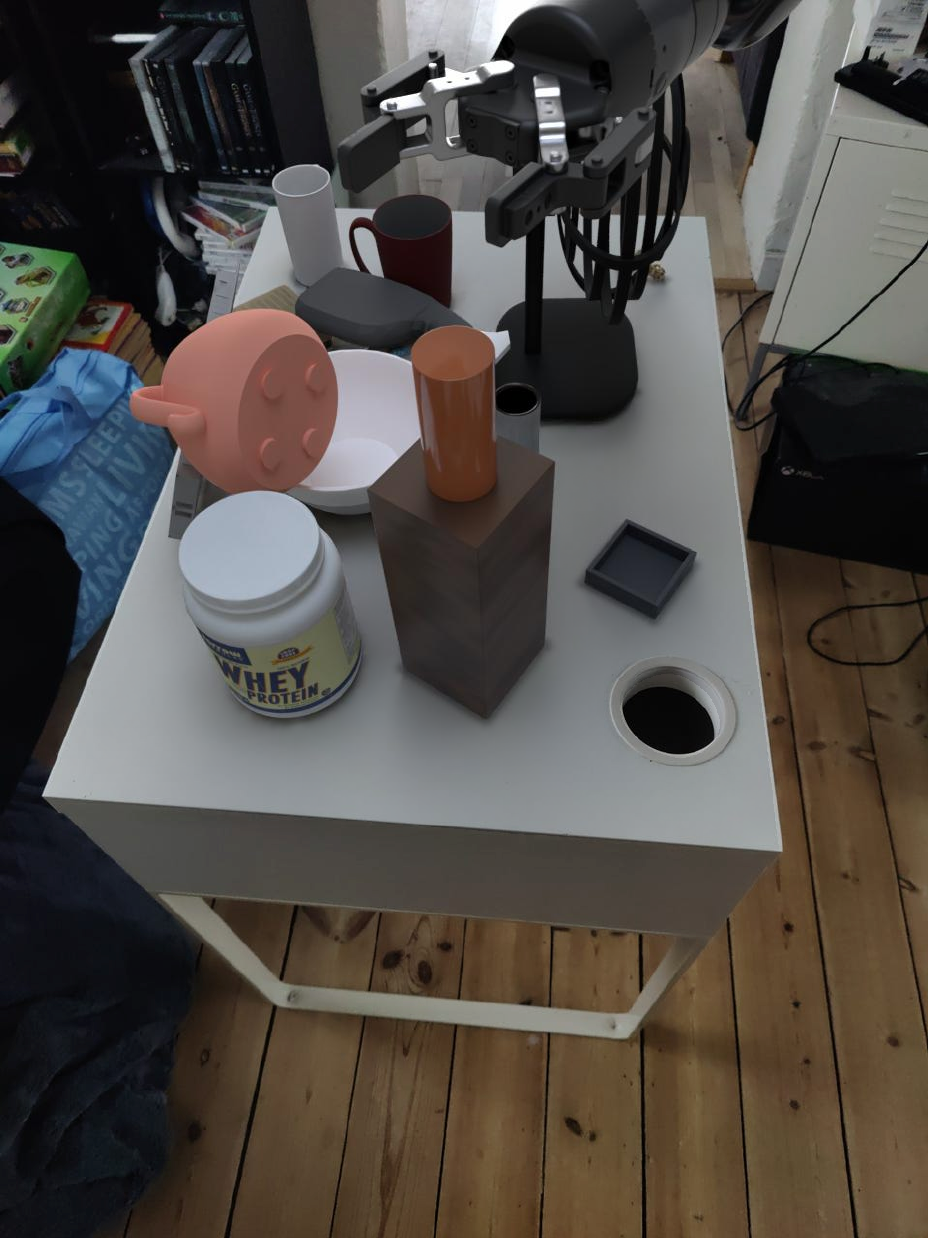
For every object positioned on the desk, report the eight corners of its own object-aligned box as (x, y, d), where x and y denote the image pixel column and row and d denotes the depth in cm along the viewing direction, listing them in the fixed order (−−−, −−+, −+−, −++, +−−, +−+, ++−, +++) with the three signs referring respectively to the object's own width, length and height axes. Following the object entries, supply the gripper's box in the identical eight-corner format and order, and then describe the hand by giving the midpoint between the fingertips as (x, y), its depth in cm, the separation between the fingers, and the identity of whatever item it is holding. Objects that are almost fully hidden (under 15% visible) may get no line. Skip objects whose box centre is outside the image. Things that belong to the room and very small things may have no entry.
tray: (693, 565, 80) (697, 551, 79) (654, 619, 77) (657, 606, 76) (624, 531, 83) (626, 518, 81) (584, 582, 80) (585, 569, 78)
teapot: (371, 478, 83) (271, 448, 88) (385, 310, 77) (276, 288, 81) (207, 534, 65) (93, 493, 70) (205, 321, 59) (80, 291, 64)
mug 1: (338, 291, 107) (320, 197, 97) (287, 287, 108) (264, 194, 98) (358, 244, 112) (343, 151, 102) (309, 240, 113) (290, 148, 103)
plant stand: (544, 644, 76) (555, 460, 57) (486, 719, 72) (477, 548, 53) (463, 598, 79) (447, 410, 60) (403, 668, 76) (366, 489, 57)
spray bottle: (344, 283, 102) (526, 341, 94) (287, 327, 96) (476, 393, 88) (341, 259, 100) (528, 316, 92) (283, 303, 94) (476, 368, 86)
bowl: (421, 393, 95) (414, 331, 88) (473, 520, 84) (469, 460, 78) (248, 435, 93) (227, 374, 86) (279, 570, 82) (258, 513, 75)
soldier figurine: (644, 257, 101) (672, 275, 103) (643, 251, 102) (670, 268, 104) (632, 270, 103) (660, 288, 105) (631, 264, 104) (658, 281, 106)
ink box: (292, 308, 105) (232, 338, 103) (284, 280, 102) (222, 310, 99) (336, 348, 100) (274, 380, 98) (330, 320, 97) (266, 353, 95)
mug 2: (352, 322, 103) (336, 236, 94) (367, 277, 108) (354, 191, 98) (451, 327, 101) (444, 241, 92) (462, 282, 106) (457, 195, 97)
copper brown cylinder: (511, 467, 57) (511, 343, 49) (469, 513, 55) (462, 391, 47) (453, 439, 59) (443, 315, 50) (410, 482, 57) (393, 360, 48)
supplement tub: (215, 723, 73) (145, 611, 59) (241, 606, 80) (184, 480, 66) (357, 725, 72) (320, 611, 58) (371, 606, 79) (341, 479, 65)
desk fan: (662, 450, 89) (734, 86, 60) (492, 450, 90) (482, 94, 61) (642, 289, 104) (693, -64, 75) (497, 291, 105) (491, -56, 76)
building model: (220, 383, 98) (202, 379, 97) (241, 252, 84) (221, 246, 83) (187, 559, 84) (165, 555, 83) (206, 437, 70) (180, 431, 70)
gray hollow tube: (487, 466, 89) (484, 389, 80) (528, 455, 89) (530, 377, 81) (502, 497, 86) (501, 420, 78) (544, 485, 87) (548, 408, 78)
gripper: (487, -52, 46) (283, 74, 39) (733, 3, 41) (549, 159, 34) (490, 97, 52) (314, 228, 45) (704, 161, 47) (543, 320, 40)
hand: (415, 198), depth 39 cm, fingers open, 8 cm apart
